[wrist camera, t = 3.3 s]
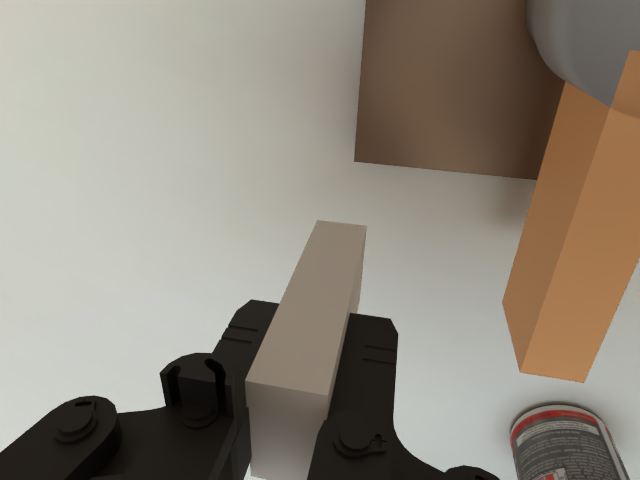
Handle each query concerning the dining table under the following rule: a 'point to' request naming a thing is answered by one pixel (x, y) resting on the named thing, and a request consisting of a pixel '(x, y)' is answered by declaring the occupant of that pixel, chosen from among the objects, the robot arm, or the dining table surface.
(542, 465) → the pill bottle
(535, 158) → the base
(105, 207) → the dining table surface
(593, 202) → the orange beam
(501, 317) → the dining table surface
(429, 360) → the dining table surface
